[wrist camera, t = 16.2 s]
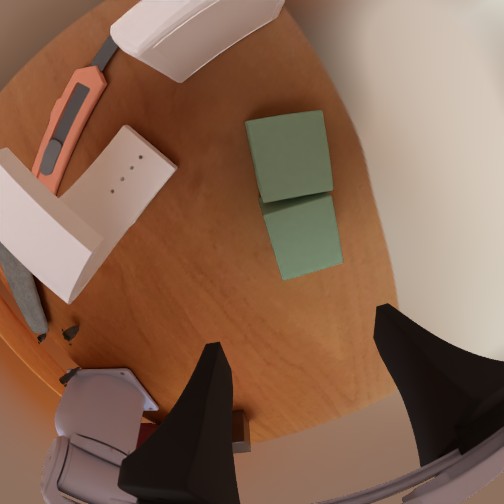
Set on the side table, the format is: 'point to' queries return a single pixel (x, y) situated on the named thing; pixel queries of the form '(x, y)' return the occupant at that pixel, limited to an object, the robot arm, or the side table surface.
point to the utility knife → (71, 118)
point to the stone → (23, 290)
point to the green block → (290, 155)
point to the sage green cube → (303, 233)
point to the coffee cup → (78, 211)
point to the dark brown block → (240, 432)
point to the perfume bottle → (188, 31)
